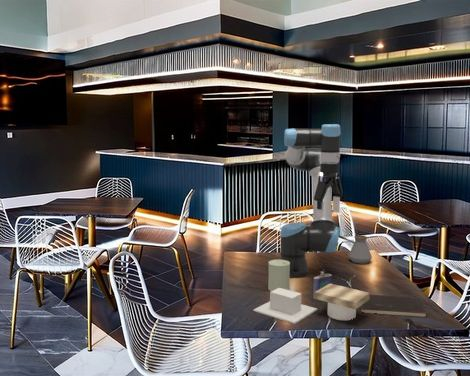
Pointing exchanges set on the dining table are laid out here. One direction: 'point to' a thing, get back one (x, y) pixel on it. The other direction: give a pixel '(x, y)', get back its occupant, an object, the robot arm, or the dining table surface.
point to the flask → (321, 282)
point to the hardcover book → (394, 305)
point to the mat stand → (285, 306)
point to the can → (279, 274)
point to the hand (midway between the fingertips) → (328, 214)
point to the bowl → (340, 312)
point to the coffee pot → (359, 250)
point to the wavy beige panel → (342, 296)
